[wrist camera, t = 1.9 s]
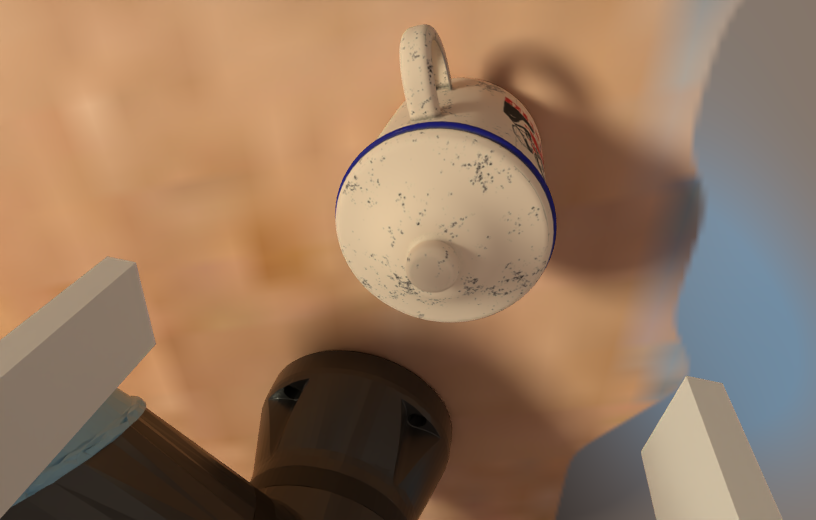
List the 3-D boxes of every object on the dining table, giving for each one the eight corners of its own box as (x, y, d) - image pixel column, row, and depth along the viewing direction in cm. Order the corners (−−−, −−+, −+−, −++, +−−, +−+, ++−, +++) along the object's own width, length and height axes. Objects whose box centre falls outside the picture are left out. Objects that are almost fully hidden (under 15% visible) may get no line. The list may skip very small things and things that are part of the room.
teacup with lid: (553, 219, 29) (570, 363, 19) (401, 236, 31) (349, 371, 22) (531, -14, 23) (541, 23, 13) (346, 31, 25) (240, 89, 16)
